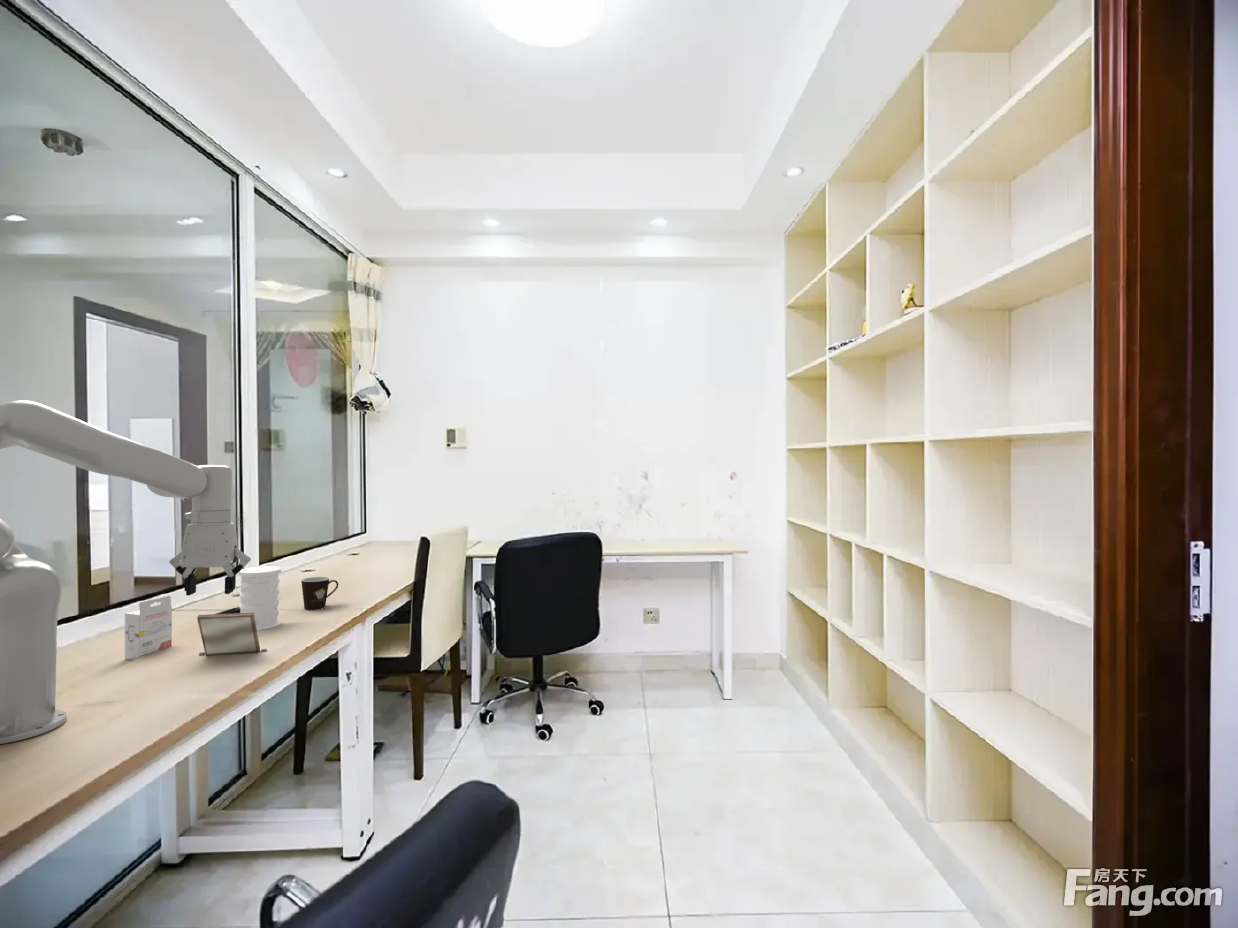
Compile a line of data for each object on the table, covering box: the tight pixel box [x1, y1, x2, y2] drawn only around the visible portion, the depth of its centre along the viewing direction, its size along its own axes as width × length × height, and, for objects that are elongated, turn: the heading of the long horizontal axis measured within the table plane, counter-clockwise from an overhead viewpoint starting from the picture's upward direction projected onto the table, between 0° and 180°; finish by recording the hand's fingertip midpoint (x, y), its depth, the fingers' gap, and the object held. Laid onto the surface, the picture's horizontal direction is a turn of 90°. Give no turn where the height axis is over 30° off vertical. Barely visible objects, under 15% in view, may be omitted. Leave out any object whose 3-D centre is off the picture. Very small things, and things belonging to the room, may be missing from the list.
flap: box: [196, 613, 261, 656], centre depth 143 cm, size 13×12×1 cm
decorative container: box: [238, 565, 282, 631], centre depth 171 cm, size 12×12×18 cm
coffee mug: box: [300, 576, 339, 611], centre depth 197 cm, size 12×9×10 cm
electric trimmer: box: [215, 606, 241, 614], centre depth 183 cm, size 4×16×3 cm, turn 172°
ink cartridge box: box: [124, 595, 173, 661], centre depth 147 cm, size 9×5×15 cm, turn 168°
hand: (210, 592), depth 132 cm, fingers open, 7 cm apart
